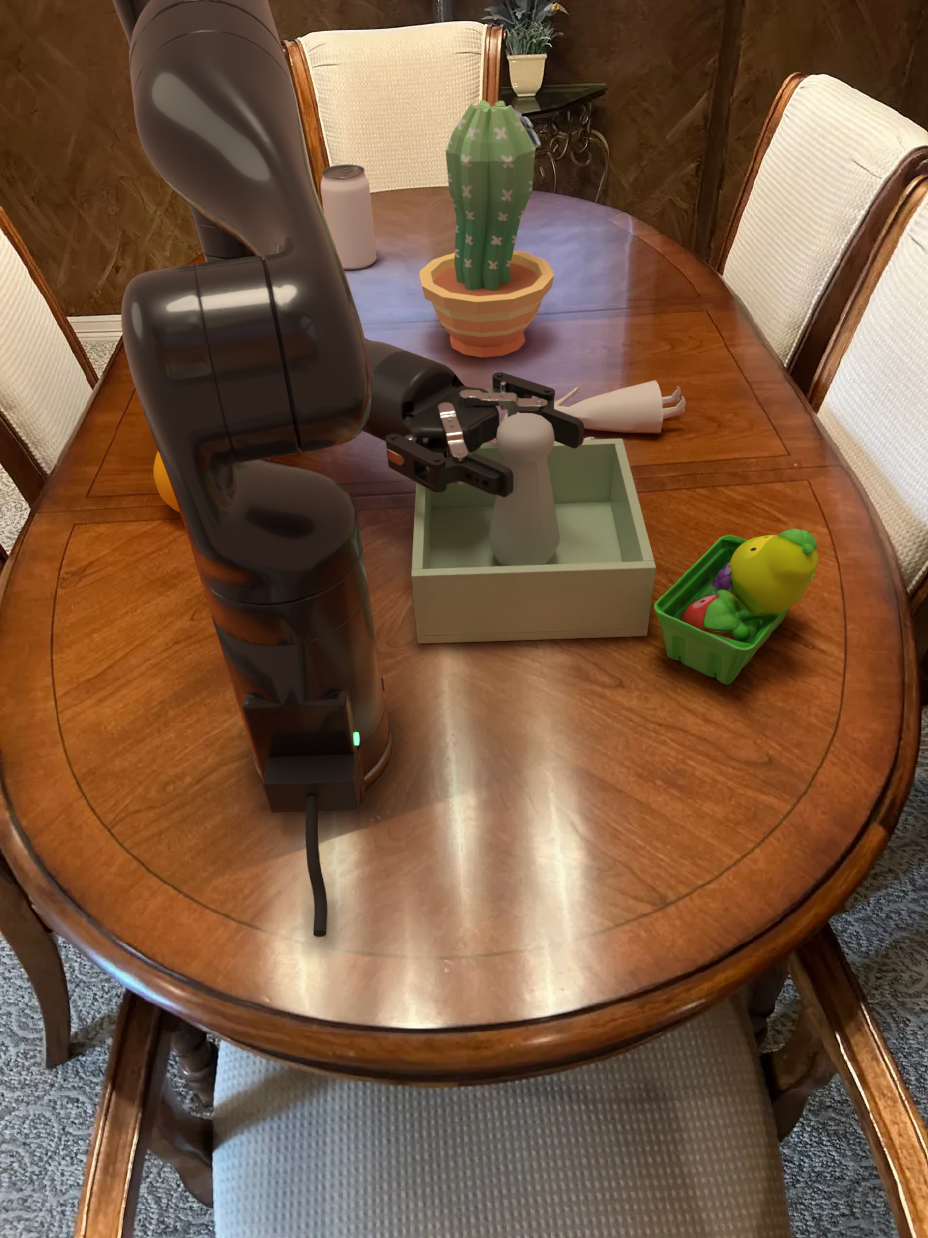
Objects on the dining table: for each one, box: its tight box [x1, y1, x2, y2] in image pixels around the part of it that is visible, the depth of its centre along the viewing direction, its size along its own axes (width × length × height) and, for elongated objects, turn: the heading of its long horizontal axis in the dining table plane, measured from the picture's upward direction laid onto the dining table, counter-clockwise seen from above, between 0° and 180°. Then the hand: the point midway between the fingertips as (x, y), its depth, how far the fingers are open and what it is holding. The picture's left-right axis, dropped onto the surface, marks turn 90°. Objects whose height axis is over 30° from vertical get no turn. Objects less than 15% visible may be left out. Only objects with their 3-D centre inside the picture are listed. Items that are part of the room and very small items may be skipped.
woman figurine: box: [503, 379, 686, 440], centre depth 92 cm, size 12×4×18 cm
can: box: [320, 163, 377, 271], centre depth 124 cm, size 6×6×12 cm
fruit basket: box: [653, 528, 819, 686], centre depth 65 cm, size 11×9×11 cm
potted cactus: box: [418, 99, 555, 358], centre depth 100 cm, size 15×15×25 cm
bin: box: [410, 438, 657, 644], centre depth 74 cm, size 18×18×7 cm
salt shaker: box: [488, 413, 560, 566], centre depth 72 cm, size 6×6×13 cm
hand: (547, 459), depth 68 cm, fingers open, 8 cm apart
